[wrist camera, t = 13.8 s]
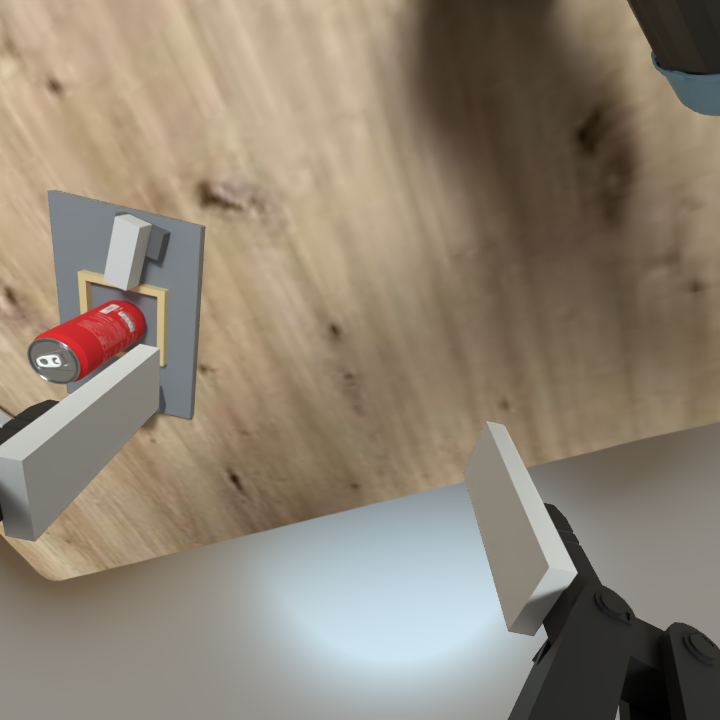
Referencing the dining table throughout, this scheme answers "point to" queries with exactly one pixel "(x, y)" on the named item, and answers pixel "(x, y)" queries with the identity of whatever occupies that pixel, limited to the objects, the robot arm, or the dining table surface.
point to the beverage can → (86, 341)
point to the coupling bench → (171, 273)
